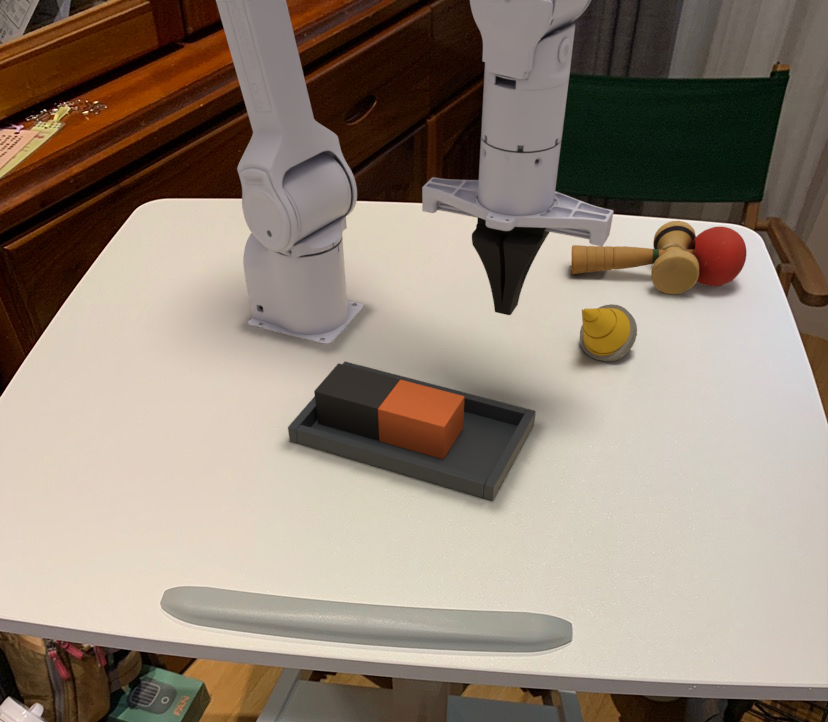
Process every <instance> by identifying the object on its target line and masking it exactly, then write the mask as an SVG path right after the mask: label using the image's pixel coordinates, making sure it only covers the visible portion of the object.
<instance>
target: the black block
mask: <svg viewBox="0 0 828 722" xmlns="http://www.w3.org/2000/svg"><path fill="white" fill-rule="evenodd" d="M399 381H400V379H397V378H393V377H389V376H385V375H382V374H378V373H374V372H370V371H366V370H362V369H359V368H355V367H351V366H347V365H343V363H339V362H338V363H337V364H336V365H335V366H334V368H333V369H332V370H331V371H330V372H329V373H328V375H327V376H325V378H324V379H323V380H322V381H321V383H320V384H319V385H318V386H317V387H316V388H315V390H314V393H313V394H314V396H315V402H316V411H317V420H318V424H322V425H325V426H329V427H332V428H336V429H339V430H343V431H346V432H350V433H353V434H357V435H360V436H364V437H367V438H371V439H374V440H378V441H379V422H378V408H379V407H380V405H381V404H382V403H383V401H384V400H385V399H386V398H387V396H388V395H389V394H390V392H391V391H392V390H393V388H394V387H395V386H396V384H397V383H398V382H399Z"/></svg>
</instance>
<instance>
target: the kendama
mask: <svg viewBox="0 0 828 722" xmlns="http://www.w3.org/2000/svg"><path fill="white" fill-rule="evenodd" d="M652 243H653V248H648V247H637V246H611V245H610V246H609V245H606V246H604V245H603V246H597V245H577V244H573V245H572V246H571V261H570V262H571V266H570V267H571V270H570V271H571V272H570V273H571V274H572V275H578V274H585V273H595V272H603V271H612V270H615V271H616V270H624V269H633V268H639V267H644V266H649V265H652V267H651V270H650V271H651V281H652V284H653V286H654V288H655V289H656V290H658V291H659V292H662V293H664V294H666V295H679V294H682V293H685V292H688V291H689V290H690V289H691V288H693V287H694V286H695V285H696V284H697V283H699V284H700V285H702V286H706V287H721V286H724V285H727V284H729V283H731V282H733V281H734V280H735V279H736V278H737V277H738V276H739V275H740V273H741V272H742V270H743V269H744V266H745V263H746V260H747V245H746V242H745V240H744V238H743V236H741V234H740V233H739V232H737V231H736V230H735V229H732V228H730V227H727V226H712V227H710V228H706V229H704V230H703V231H701V232H700V233H699V234H697V235H696V231H695V229H694V227H693V226H692V225H691V224H689V223H688V222H685V221H683V220H672V221H669V222H668V221H667V222H666V223H664V224H663V225H661V226H660V227H659V228H658V229H657V230H656V232H655V234H654V237H653V242H652Z"/></svg>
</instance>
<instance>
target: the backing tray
mask: <svg viewBox="0 0 828 722" xmlns="http://www.w3.org/2000/svg"><path fill="white" fill-rule="evenodd" d="M342 364H343V365H347V366H351V367H355V368H359V369H362V370H366V371H370V372H374V373H378V374H382V375H385V376H389V377H393V378H397V379H400V380H404V381H408V382H412V383H415V384H419V385H423V386H427V387H431V388H435V389H438V390H442V391H446V392H450V393H454V394H458V395H461V396H464V397H465V398H464V418H463V429H462V431H461V432H460V434H459V436H458V437H457V439H456V440H455V442H454V444H453V445H452V447H451V448H450V450H449V451H448V453H447V455H446V456H445V458H444V459H440V458H436V457H433V456H429V455H426V454H422V453H419V452H415V451H412V450H409V449H405V448H402V447H398V446H395V445H391V444H388V443H384V442H381V441H378V440H374V439H371V438H367V437H364V436H360V435H357V434H353V433H350V432H346V431H343V430H339V429H336V428H332V427H329V426H325V425H322V424H318V420H317V411H316V402H315V395H314V396H313V398H311V399H310V401H309V402H307V404H306V405H305V407H304V408H303V409H302V410H301V412H300V413H299V414H298V415H296V417H295V418H294V419H293V421H291V422H290V424H289V425H288V426H287V432H288V437H289V439H288V440H289V442H290V443H294V444H298V445H301V446H304V447H306V448H311V449H314V450H318V451H320V452H324V453H327V454H330V455H334V456H338V457H341V458H345V459H348V460H351V461H355V462H357V463H360V464H361V463H362V464H364V465H368V466H370V467H375V468H378V469H380V470H381V469H382V470H385V471H387V472H388V471H389V472H391V473H395V474H399V475H401V476H404V477H405V476H406V477H408V478H412V479H416V480H418V481H422V482H424V483H425V482H426V483H428V484H432V485H435V486H439V487H443V488H446V489H450V490H453V491H455V492H459V493H463V494H466V495H470V496H473V497H476V498H480V499H483V500H487V501H490V502H493V501H494V500H495V498H496V496H497V494H498V492H499V490H500V489H501V486H502V485H503V483H504V481H505V479H506V477H507V476H508V474H509V473H510V470H511V468H512V467H513V465H514V462H515V461H516V460H517V457H518V455H519V453H520V452H521V450H522V448H523V446H524V444H525V443H526V441H527V439H528V437H529V435H530V434H531V431H532V430H533V428H534V426H535V420H536V413H537V412H536V410H534V409H531V408H527V407H524V406H523V407H522V406H518V405H515V404H511V403H508V402H503V401H500V400H495V399H491V398H488V397H484V396H480V395H476V394H472V393H468V392H465V391H461V390H457V389H453V388H449V387H446V386H442V385H438V384H435V383H431V382H426V381H422V380H418V379H415V378H411V377H407V376H403V375H399V374H395V373H391V372H387V371H384V370H379V369H376V368H372V367H368V366H364V365H362V364H361V365H360V364H357V363H352V362H349V361H345V360H344V361H343V363H342Z"/></svg>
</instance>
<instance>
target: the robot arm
mask: <svg viewBox="0 0 828 722" xmlns="http://www.w3.org/2000/svg"><path fill="white" fill-rule="evenodd" d="M215 2H216V6H217V10H218V13H219V16H220V20H221V24H222V26H223V31H224V35H225V37H226V41H227V45H228V48H229V51H230V52H229V53H230V55H231V59H232V63H233V65H234V68H235V73H236V76H237V80H238V84H239V87H240V91H241V94H242V97H243V101H244V104H245V105H244V106H245V108H246V112H247V115H248V119H249V123H250V127H251V130H252V136H251V138H250V140H249V142H248V144H247V146H246V148H245V150H244V152H243V154H242V156H241V158H240V161H239V162H238V165H237V167H236V171H237V173H238V176H239V180H240V184H241V207H242V213H243V217H244V221H245V223H246V225H247V228H248V230H249V231H250V232H251V233H250V235H249V236H248V237H247V239H246V242H245V246H244V250H243V260H242V262H243V263H242V265H243V273H244V278H245V279H244V280H245V284H246V290H247V291H246V292H247V298H248V303H249V307H250V313H251V314H250V315H251V318H250V319H249V320H248V321H247V324H248V325H249V326H251V327H255V328H258V329H263V330H267V331H271V332H275V333H279V334H282V335H286V336H289V337H294V338H299V339H302V340H305V341H310V342H314V343H316V344H317V343H318V344H322V345H331V344H332V343H333V342H334V341H335V340H336V339H337V338H338V337H339V336H340V335H341V333H342V332H343V331H344V330H346V328H347V327H348V326H349V325H350V323H351V322H353V320H354V319H355V318H356V317H357V316H358V315H359V313H360V312H361V311H362V310H363V309H364V304H363V303H359V302H355V301H351V300H348V294H347V281H346V266H345V265H346V264H345V251H344V239H343V234H344V233H343V232H344V231H345V230H347V229H348V227H347V216H349V215H350V214H351V213H352V212H353V210H354V209H355V207H356V205H357V202H358V201H357V200H358V188H357V182H356V179H355V176H354V173H353V172H352V169H351V167H350V166H349V165H348V163H347V161H346V159H345V157H344V154H343V152H342V149H341V144H340V140H339V136H338V135H337V134H336V133H335V132H333V131H332V130H331V129H329V128H327V127H325V126H324V125H323V124H321V123H319V122H318V121H317V120H316V119H315V118H314V117H315V116H314V113H313V108H312V103H311V101H310V96H309V92H308V88H307V84H306V80H305V76H304V70H303V67H302V62H301V59H300V53H299V49H298V46H297V42H296V38H295V33H294V32H295V31H294V28H293V24H292V20H291V16H290V11H289V7H288V4H287V0H215ZM591 2H592V0H469V5H470V9H471V13H472V16H473V20H474V22H475V24H476V26H477V28H478V30H479V33H480V35H481V39H482V56H481V57H482V59H481V61H482V62H484V73H483V93H482V98H483V99H482V112H481V113H482V114H481V129H480V131H481V133H480V148H479V165H478V167H479V168H478V179H449V178H440V177H434V176H433V177H432V176H431V178H430V179H429V180H428V181H427V182H426V183H425V184H424V185H423V186H422V188H421V189H422V190H421V191H422V193H421V194H422V195H421V197H422V198H421V203H422V204H421V206H422V208H421V210H422V212H425V213H429V214H435V213H437V211H441V212H446V213H451V214H455V215H456V214H457V215H461V216H466V217H472V218H477V223H476V225H475V227H476V228H475V229H474V230H473V231H472V233H471V244H472V246H473V248H474V250H475V252H476V253H477V255H478V256H479V259H480V261H481V263H482V265H483V267H484V271H485V273H486V277H487V279H488V282H489V283H488V284H489V286H490V291H491V295H492V300H493V307H494V312H495V313H496V314H501V315H506V316H511V315H513V312H514V311H515V309H516V308H517V307H518V305H519V301H520V297H521V293H522V289H523V288H524V287H523V286H524V284H525V281H526V278H527V275H528V273H529V271H530V269H531V267H532V265H533V262H534V261H535V259H536V257H537V254H538V253H539V251H540V249H541V247H542V246H543V244H544V243H545V241H546V240H547V238H548V235H549V234H550V233H554V234H559V235H564V236H568V237H569V236H570V237H574V238H578V239H579V238H580V239H585V240H588V242H589V243H588V244H590V245H591V246H604V245H605V243H606V242H607V240H608V238H609V236H610V234H611V229H612V224H613V223H612V222H613V217H614V210H613V209H610V208H605V207H600V206H596V205H594V204H590V203H587V202H585V201H584V200H583V201H582V200H579V199H578V198H574V197H571V196H569V195H567V194H564V193H561V192H559V191H557V190H556V188H557V182H558V181H557V180H558V172H559V171H558V170H559V165H560V164H559V163H560V155H561V147H562V141H563V140H562V139H563V132H564V124H565V123H564V122H565V116H566V108H567V106H566V105H567V98H568V91H569V82H570V74H571V65H572V56H573V47H574V41H575V32H576V24H575V23H574V22H575V20H577V19H578V18H580V17H581V16H582V14H583V13H584V12H585V11H586V10H587V9H588V7H589V6H590V4H591ZM572 23H573V24H572ZM570 24H571V25H570Z"/></svg>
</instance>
